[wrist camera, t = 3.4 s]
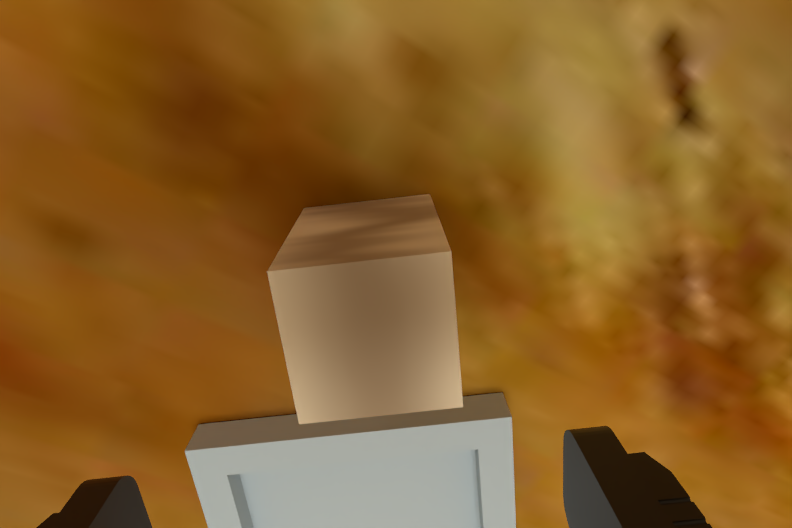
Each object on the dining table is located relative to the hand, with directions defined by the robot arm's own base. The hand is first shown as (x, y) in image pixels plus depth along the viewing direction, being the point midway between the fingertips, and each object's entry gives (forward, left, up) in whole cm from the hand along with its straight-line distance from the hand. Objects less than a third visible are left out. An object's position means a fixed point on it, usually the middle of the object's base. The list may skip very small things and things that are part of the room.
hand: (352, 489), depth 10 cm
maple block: (0, 0, -13) cm, 13 cm away
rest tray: (+2, +14, -12) cm, 19 cm away
